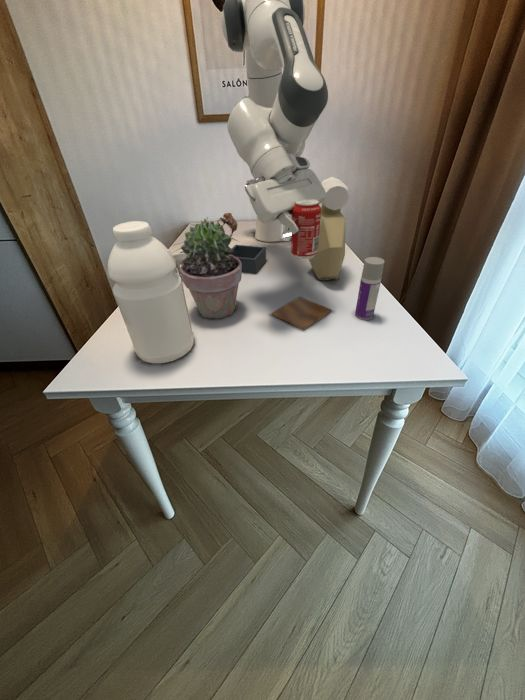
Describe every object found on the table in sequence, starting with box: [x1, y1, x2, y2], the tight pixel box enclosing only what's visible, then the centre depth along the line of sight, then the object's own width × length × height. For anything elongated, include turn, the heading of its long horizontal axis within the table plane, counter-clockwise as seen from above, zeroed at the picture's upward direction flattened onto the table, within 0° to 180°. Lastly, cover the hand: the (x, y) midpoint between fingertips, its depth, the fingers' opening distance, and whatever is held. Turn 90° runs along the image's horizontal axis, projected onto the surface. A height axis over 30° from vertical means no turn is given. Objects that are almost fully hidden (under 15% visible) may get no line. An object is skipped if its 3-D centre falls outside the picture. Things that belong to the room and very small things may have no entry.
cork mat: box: [271, 296, 332, 331], centre depth 84 cm, size 12×11×1 cm
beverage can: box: [290, 199, 322, 260], centre depth 70 cm, size 6×6×12 cm
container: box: [354, 256, 386, 321], centre depth 77 cm, size 5×5×15 cm
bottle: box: [106, 220, 195, 364], centre depth 66 cm, size 14×14×28 cm
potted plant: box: [171, 212, 245, 320], centre depth 79 cm, size 18×20×25 cm
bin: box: [229, 244, 267, 275], centre depth 109 cm, size 12×12×5 cm
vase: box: [308, 176, 349, 281], centre depth 94 cm, size 12×24×28 cm, turn 1°
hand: (307, 227), depth 69 cm, fingers closed on beverage can, 6 cm apart
